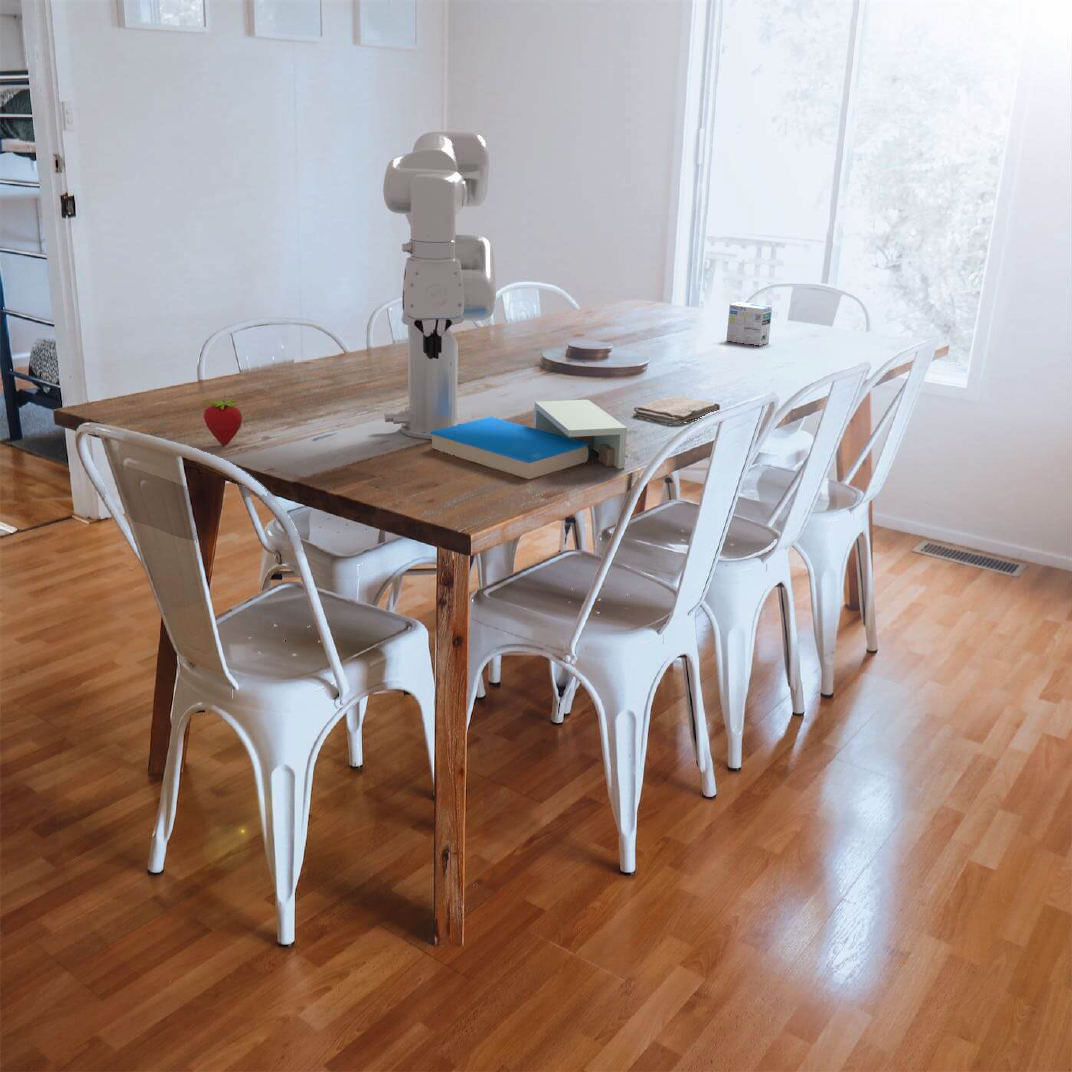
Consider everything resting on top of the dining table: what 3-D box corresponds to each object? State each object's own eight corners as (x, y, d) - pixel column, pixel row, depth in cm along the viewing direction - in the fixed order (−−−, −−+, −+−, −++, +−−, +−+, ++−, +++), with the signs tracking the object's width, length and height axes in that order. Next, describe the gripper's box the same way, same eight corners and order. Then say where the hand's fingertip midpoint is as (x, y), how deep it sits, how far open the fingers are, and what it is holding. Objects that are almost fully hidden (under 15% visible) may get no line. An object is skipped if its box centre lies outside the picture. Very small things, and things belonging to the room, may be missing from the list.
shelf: (566, 471, 202) (569, 430, 199) (533, 440, 221) (534, 401, 218) (624, 468, 205) (627, 427, 203) (586, 437, 224) (588, 399, 221)
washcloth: (630, 418, 241) (631, 404, 240) (673, 404, 254) (674, 391, 253) (678, 429, 234) (679, 414, 233) (720, 414, 248) (721, 400, 247)
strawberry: (219, 438, 214) (216, 386, 210) (251, 444, 211) (248, 392, 207) (197, 445, 209) (194, 392, 205) (230, 452, 206) (226, 398, 202)
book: (530, 460, 196) (429, 429, 211) (528, 484, 198) (429, 451, 212) (591, 442, 208) (492, 414, 223) (589, 464, 210) (491, 435, 225)
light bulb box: (769, 343, 325) (773, 305, 321) (760, 346, 319) (764, 308, 315) (734, 338, 330) (738, 301, 326) (725, 341, 324) (729, 303, 321)
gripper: (393, 254, 186) (394, 363, 193) (481, 253, 190) (478, 360, 197) (385, 247, 193) (386, 353, 200) (470, 247, 197) (468, 351, 204)
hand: (432, 356), depth 198 cm, fingers closed
